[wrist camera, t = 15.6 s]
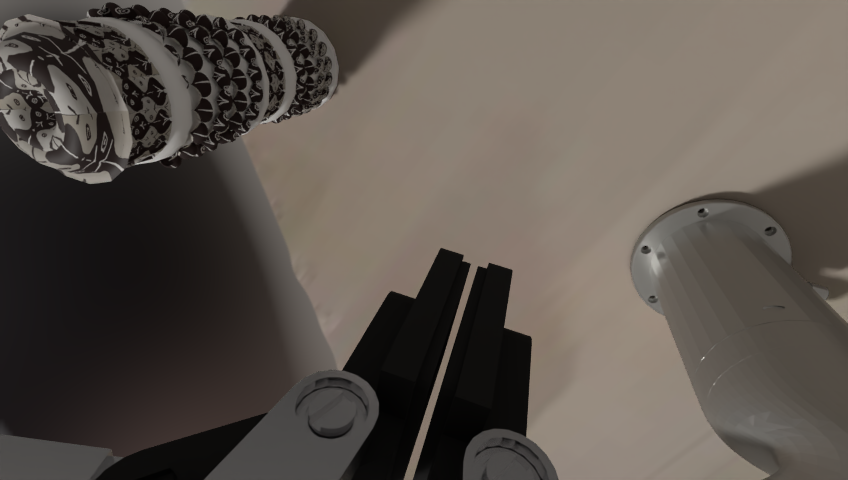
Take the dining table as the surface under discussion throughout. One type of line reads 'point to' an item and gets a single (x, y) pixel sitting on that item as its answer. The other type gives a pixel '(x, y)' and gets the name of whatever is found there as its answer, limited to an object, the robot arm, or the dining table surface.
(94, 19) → the decorative candle
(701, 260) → the robot arm
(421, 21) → the dining table surface
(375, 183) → the dining table surface
